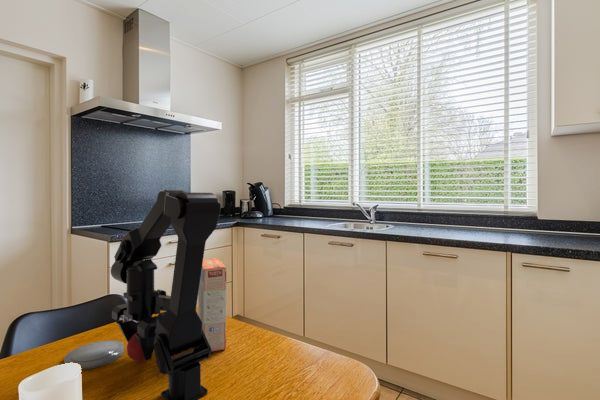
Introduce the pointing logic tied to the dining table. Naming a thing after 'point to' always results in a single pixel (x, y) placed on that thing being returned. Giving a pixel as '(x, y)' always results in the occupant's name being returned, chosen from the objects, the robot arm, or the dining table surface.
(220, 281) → the cracker box
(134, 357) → the onion
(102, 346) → the plate
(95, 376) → the dining table surface
